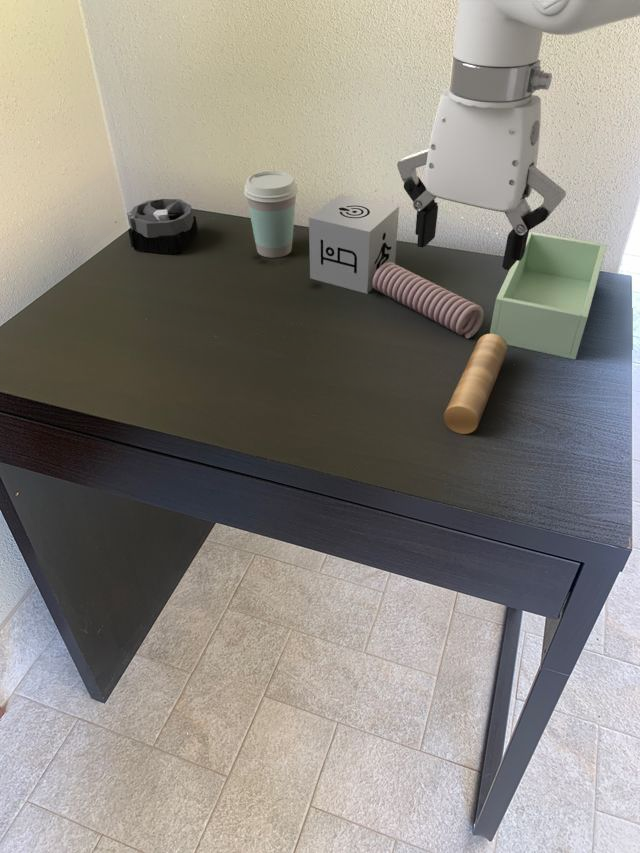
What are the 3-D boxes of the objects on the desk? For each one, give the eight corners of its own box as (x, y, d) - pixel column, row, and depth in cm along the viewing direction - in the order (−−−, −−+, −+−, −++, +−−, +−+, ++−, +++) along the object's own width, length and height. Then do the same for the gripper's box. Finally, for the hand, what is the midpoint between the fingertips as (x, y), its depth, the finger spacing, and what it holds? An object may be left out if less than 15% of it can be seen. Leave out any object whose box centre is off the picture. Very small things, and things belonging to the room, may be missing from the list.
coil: (369, 268, 100) (465, 317, 90) (392, 255, 102) (487, 301, 92) (371, 294, 104) (463, 344, 93) (392, 281, 106) (485, 329, 95)
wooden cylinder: (479, 360, 91) (474, 334, 89) (509, 359, 89) (505, 332, 87) (446, 433, 80) (440, 406, 78) (480, 434, 78) (474, 406, 76)
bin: (595, 284, 105) (606, 244, 101) (575, 359, 90) (587, 317, 86) (519, 270, 109) (527, 231, 104) (488, 340, 94) (496, 298, 89)
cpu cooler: (200, 199, 116) (178, 225, 109) (204, 231, 120) (183, 257, 113) (143, 194, 118) (118, 219, 111) (149, 226, 122) (125, 251, 114)
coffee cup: (307, 243, 116) (306, 173, 108) (286, 265, 110) (283, 193, 102) (262, 235, 119) (257, 165, 111) (239, 256, 113) (233, 185, 105)
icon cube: (310, 278, 107) (308, 217, 101) (340, 252, 114) (340, 193, 107) (367, 293, 103) (369, 231, 97) (395, 265, 110) (399, 206, 103)
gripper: (599, 82, 61) (557, 258, 72) (423, 58, 68) (409, 222, 79) (575, 105, 56) (533, 289, 67) (387, 76, 63) (379, 247, 74)
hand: (466, 253), depth 73 cm, fingers open, 9 cm apart
